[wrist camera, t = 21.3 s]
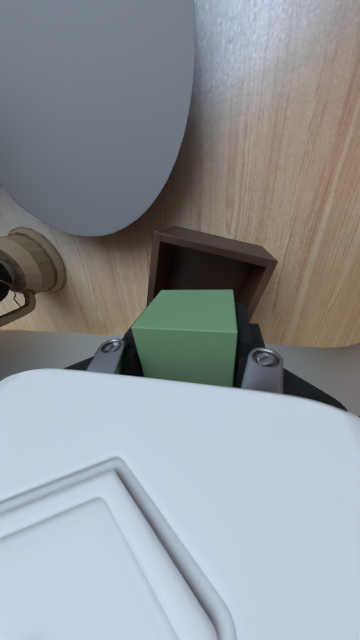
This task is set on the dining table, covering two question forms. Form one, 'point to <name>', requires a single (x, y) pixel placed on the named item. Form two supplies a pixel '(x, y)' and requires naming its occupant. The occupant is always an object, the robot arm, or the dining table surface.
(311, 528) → the robot arm
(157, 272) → the chest
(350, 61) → the dining table surface
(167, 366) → the block
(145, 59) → the flat disc
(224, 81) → the dining table surface
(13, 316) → the lantern
